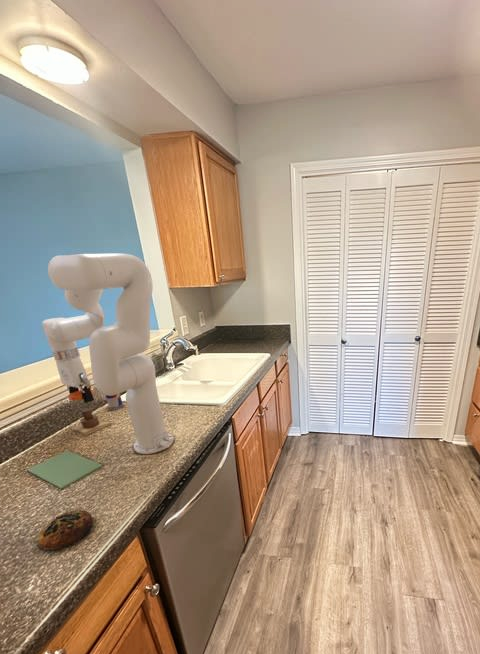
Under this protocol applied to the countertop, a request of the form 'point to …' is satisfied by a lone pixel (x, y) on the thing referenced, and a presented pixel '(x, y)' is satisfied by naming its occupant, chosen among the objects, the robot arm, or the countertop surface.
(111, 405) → the energy drink
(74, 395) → the ring
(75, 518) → the bread roll
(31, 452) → the countertop surface
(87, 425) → the post stand
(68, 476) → the mat
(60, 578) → the countertop surface
